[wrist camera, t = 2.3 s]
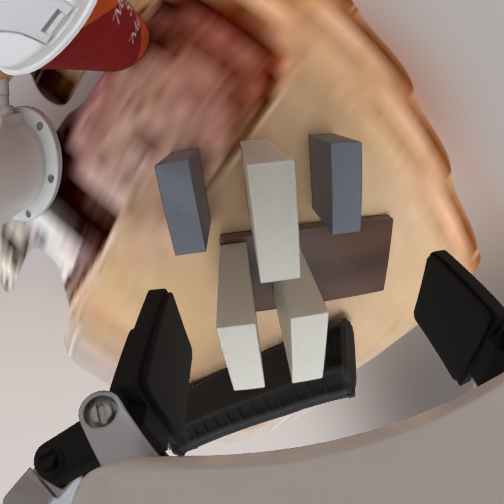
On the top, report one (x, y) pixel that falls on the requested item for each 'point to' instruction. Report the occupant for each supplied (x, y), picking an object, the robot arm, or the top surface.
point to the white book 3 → (302, 324)
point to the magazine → (267, 392)
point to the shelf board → (331, 259)
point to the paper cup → (69, 35)
